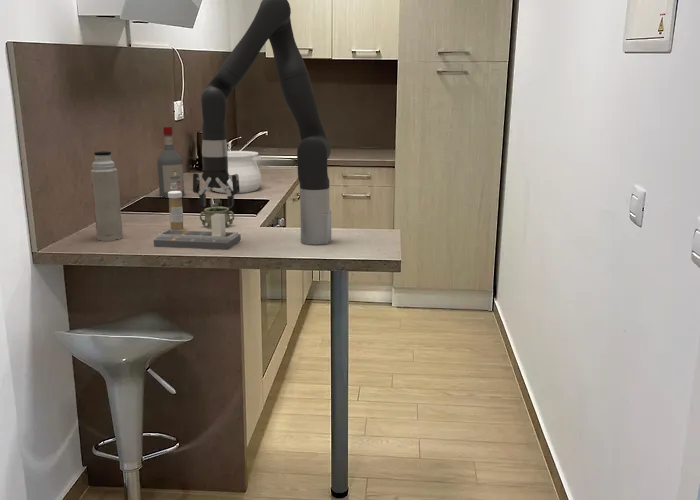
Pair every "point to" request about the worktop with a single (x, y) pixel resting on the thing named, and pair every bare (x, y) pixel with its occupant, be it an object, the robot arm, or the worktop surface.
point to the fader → (218, 225)
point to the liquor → (170, 167)
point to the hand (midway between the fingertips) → (216, 207)
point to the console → (196, 239)
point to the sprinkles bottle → (175, 210)
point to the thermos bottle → (106, 197)
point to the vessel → (216, 210)
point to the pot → (243, 171)
